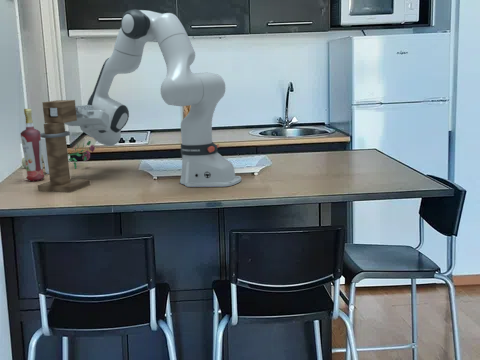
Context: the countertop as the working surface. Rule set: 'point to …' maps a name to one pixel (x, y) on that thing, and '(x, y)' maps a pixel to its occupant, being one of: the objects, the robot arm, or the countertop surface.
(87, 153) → the flower vase
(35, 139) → the liquor
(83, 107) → the gray square bar
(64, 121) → the rosette stand
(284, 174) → the countertop surface
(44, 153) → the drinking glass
